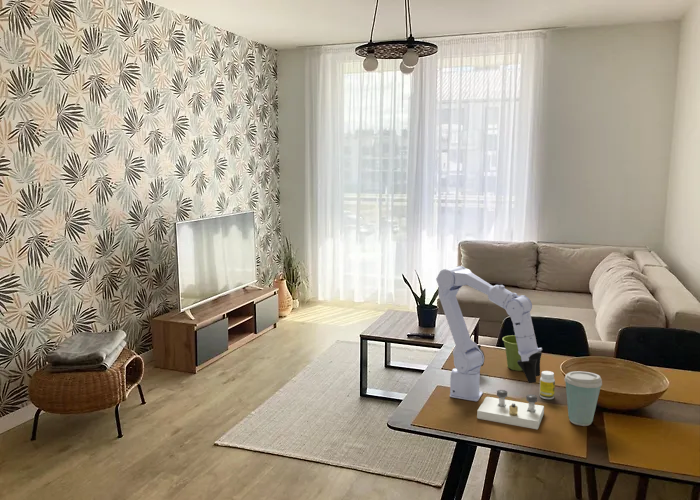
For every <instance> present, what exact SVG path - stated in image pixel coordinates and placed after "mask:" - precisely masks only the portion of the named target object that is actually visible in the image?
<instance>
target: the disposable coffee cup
mask: <svg viewBox="0 0 700 500" xmlns="http://www.w3.org/2000/svg"><path fill="white" fill-rule="evenodd" d="M564 382H565V390H566V391H565V393H566V402H567V403H566V404H567V413H568V419H569V422H570V423H572V424H574V425H576V426H583V427H586V426H587V427H588V426H590V425H592V423H593V422H594V415H595V412H596V408H597V404H598V399H599V395H600V391H601V387H602V386H603V379H602V378H601V375H599V374H597V373H595V372H589V371H581V370H578V371H577V370H576V371H575V370H574V371H569V372H568V373H566V374H565V376H564Z"/></svg>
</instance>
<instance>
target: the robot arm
mask: <svg viewBox="0 0 700 500" xmlns="http://www.w3.org/2000/svg"><path fill="white" fill-rule="evenodd" d="M435 280H436V282H437V286H438V290H437V291H438V293H437V294H438V298H439V302H440V305H441V306H442V309H443V313H444V316H445V318H446V321H447V324H448V327H449V330H450V332H451V336H452V339H453V342H454V344H455V346H454V348H453V351H452V356H453V365H454V368H452V370H451V372H450V382H449V383H450V384H449V385H450V386H449V397H450V398H455V399H461V400H465V401H472V402H478V401H479V400H480V398H481V397H482V395H483V393H484V392H483V391H481V390H480V387H481V386H480V382H481V380H480V377H481V373H480V372H481V367H482V366H481V365H482V364H483V363H484V364H485V359H484V357H485V354H484V355H483V353H482V352H481V351H480V349H479V348H478V345H479V344H477V342H475V341H474V340H472V338H471V336H470V333H469V330H468V327H467V324H466V321H465V318H464V316H463V313H462V309H461V306H460V304H459V301H458V299H457V295H458V293H459V291H460V289H461V288H462V287H463V286H468V287H470V288H472V289H475V290H476V291H478V292H481V293H483V294H485V295H487V298H488V301H489V302H492V303H493V304H495V305H496V306H498V307H500V308H502V309H504V310H505V311H506V314H507V316H509V317H510V319H511V322H512V326H513V332H514V335H515V336H516V341H517V346H518V350H519V351H518V353H519V355H520V356H521V360H518V361H517V363H518V365H519V366H520V367H521V369H522V372H523V373H524V376H525V378H526V380H527V382H528V384H535V383H537V377H541V357H542V355H543V353H542V351H543V347H538V344H537V339H536V338H537V337H536V334H535V330H534V324H533V320H532V316H531V311H532V309H533V304H532V301H531V300H530V298H529V297H527V296H526V295H523V294H521V295H518V293H516V292H512V291H510V290H509V289H507V288H505V285H503V284H495V285H492V284H490V283H489V282H487V281H486V280H484V279H483V278H481V277H479V276H478V275H476V274H475V273H473V272H472V270H471V269H469V268H466V267H465V266H463V265H458V266H454V267H451V268H450V267H449V268H445V269H441V270H440V271H439V273H438V274H437V276H436V279H435ZM480 366H481V367H480Z"/></svg>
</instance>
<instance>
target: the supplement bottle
mask: <svg viewBox="0 0 700 500" xmlns="http://www.w3.org/2000/svg"><path fill="white" fill-rule="evenodd" d="M555 384H556V380H555V373H554V372H553V371H550V370H542V371H541V372H540V378H539V397H540V398H542V399H543V400H544V399H545V400H553V399H554V398H555V393H556V392H555V389H556V388H555V387H556V386H555Z"/></svg>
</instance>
